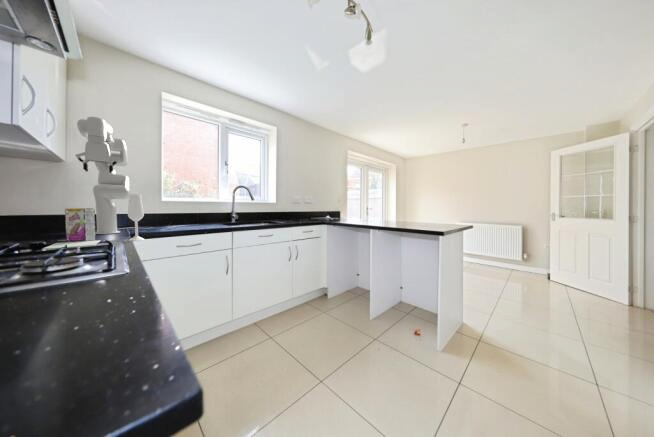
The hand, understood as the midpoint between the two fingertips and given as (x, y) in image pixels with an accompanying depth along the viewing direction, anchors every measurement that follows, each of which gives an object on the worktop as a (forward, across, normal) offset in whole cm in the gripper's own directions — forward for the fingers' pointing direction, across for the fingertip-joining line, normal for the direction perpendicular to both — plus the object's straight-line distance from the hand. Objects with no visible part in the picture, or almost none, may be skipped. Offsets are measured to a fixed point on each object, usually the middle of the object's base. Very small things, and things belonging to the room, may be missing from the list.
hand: (98, 172), depth 130 cm
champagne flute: (+37, -16, +22) cm, 46 cm away
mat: (+37, +6, +27) cm, 46 cm away
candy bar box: (+37, +6, +14) cm, 40 cm away
